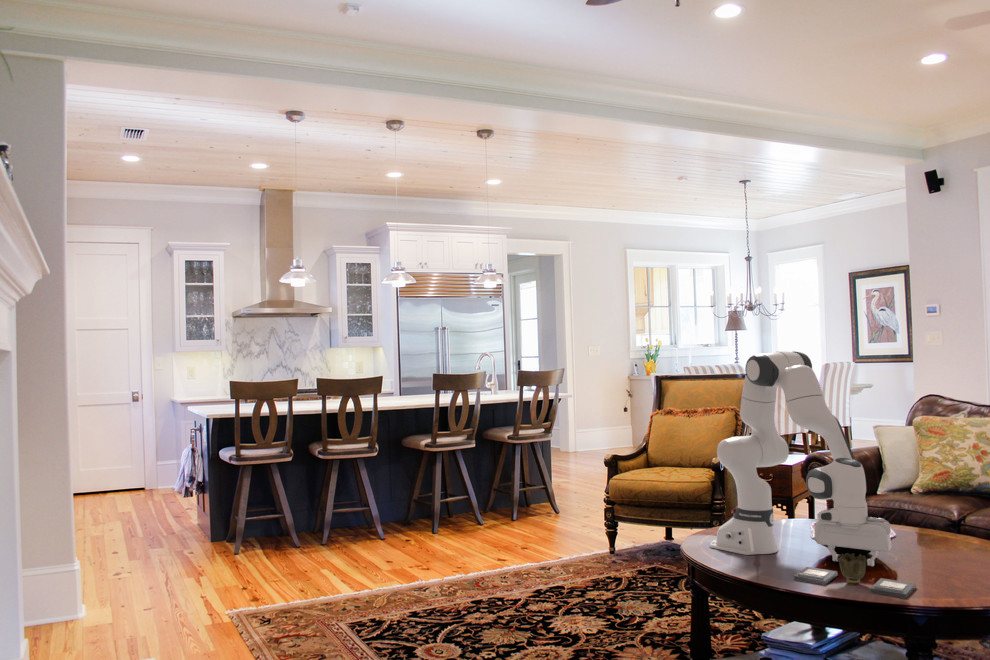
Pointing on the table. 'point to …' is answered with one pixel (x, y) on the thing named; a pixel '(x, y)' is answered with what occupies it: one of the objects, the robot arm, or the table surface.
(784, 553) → the table surface
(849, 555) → the cup
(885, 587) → the plates
